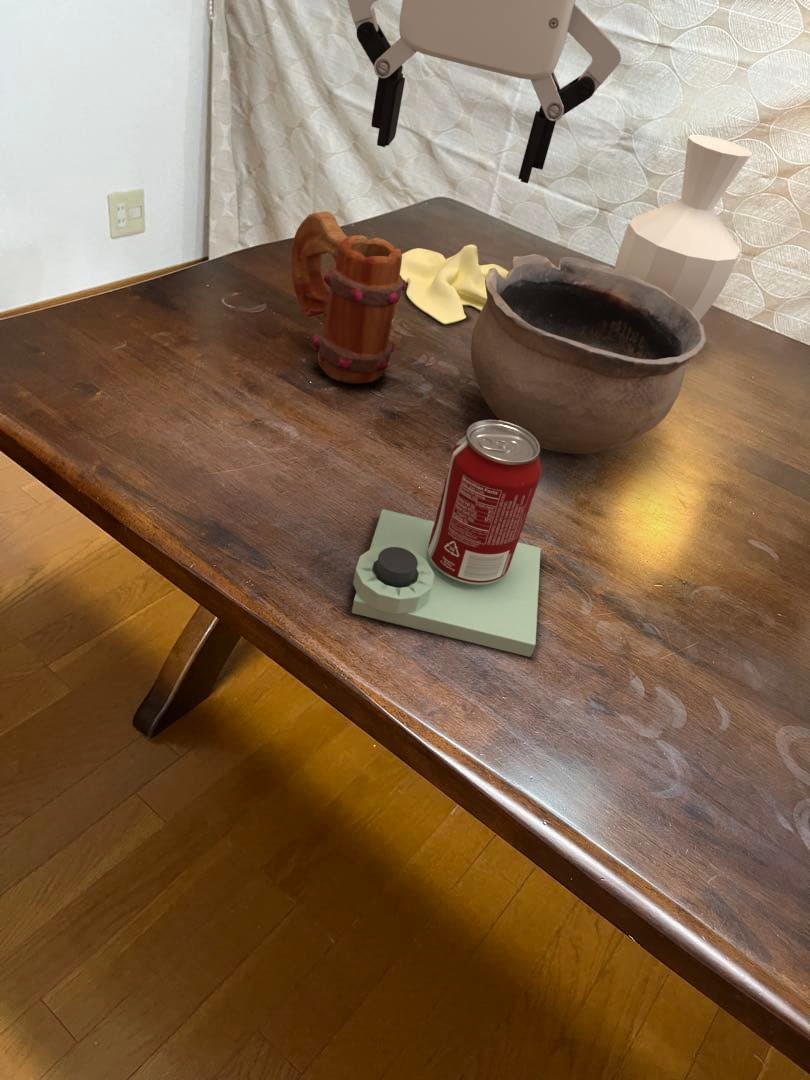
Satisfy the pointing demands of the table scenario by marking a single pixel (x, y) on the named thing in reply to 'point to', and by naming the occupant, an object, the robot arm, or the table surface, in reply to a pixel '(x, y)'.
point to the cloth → (446, 282)
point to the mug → (347, 297)
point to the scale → (450, 592)
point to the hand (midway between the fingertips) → (454, 159)
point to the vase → (688, 230)
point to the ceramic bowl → (580, 352)
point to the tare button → (396, 567)
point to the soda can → (485, 502)
